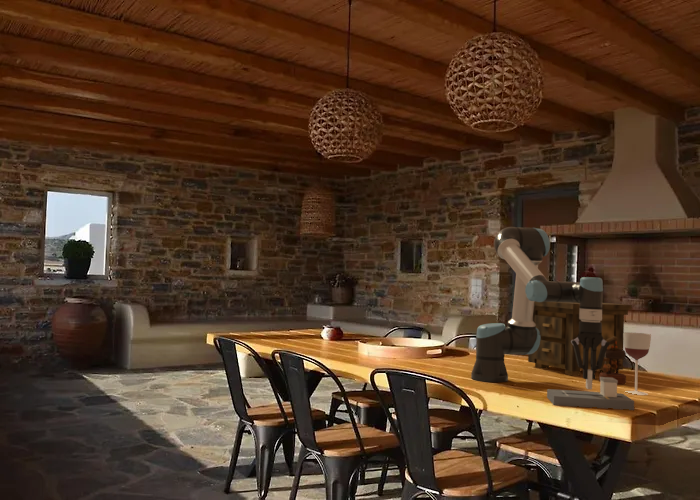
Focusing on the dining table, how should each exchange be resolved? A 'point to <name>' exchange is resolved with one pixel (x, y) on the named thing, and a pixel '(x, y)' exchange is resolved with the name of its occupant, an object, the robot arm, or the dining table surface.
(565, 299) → the robot arm
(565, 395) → the fader console
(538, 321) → the wooden cabinet
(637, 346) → the wineglass
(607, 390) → the fader tab
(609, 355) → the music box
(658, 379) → the dining table surface
